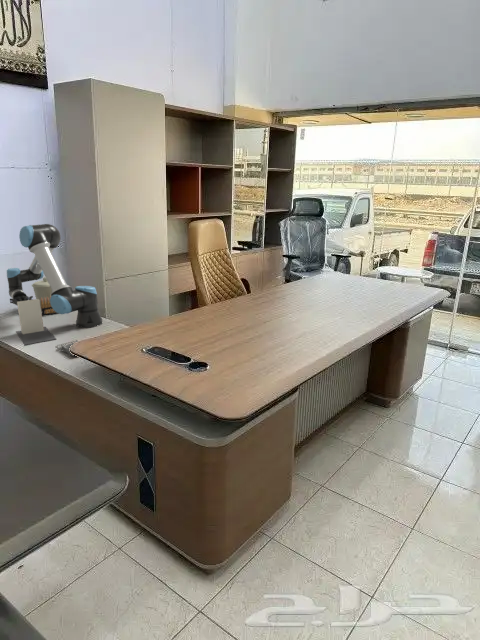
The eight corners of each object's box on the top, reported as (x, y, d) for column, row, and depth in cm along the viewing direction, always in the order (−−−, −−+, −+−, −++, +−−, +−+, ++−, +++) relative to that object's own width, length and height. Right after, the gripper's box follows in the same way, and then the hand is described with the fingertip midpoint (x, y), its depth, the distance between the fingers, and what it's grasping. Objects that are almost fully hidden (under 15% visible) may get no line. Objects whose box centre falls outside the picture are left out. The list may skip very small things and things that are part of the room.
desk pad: (15, 332, 249) (15, 331, 249) (45, 327, 258) (45, 326, 258) (24, 345, 229) (24, 344, 228) (56, 339, 237) (56, 338, 237)
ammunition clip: (59, 312, 287) (57, 295, 283) (60, 313, 285) (57, 295, 282) (41, 315, 281) (39, 297, 278) (42, 316, 280) (39, 297, 276)
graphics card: (54, 345, 221) (77, 339, 229) (55, 352, 222) (78, 345, 230) (67, 354, 209) (91, 348, 217) (68, 361, 211) (92, 355, 218)
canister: (54, 302, 312) (51, 273, 305) (68, 306, 301) (65, 276, 294) (29, 307, 298) (25, 277, 292) (43, 312, 287) (39, 281, 281)
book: (21, 332, 247) (16, 301, 241) (42, 329, 253) (38, 298, 248) (22, 334, 244) (18, 303, 239) (44, 330, 250) (39, 300, 245)
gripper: (31, 301, 272) (40, 310, 254) (8, 304, 265) (15, 313, 246) (30, 289, 270) (38, 297, 251) (6, 292, 262) (13, 301, 244)
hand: (26, 305), depth 249 cm, fingers closed
